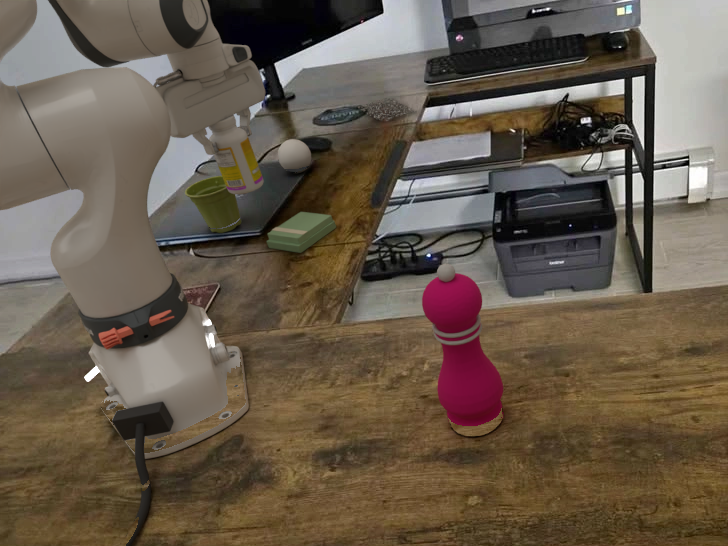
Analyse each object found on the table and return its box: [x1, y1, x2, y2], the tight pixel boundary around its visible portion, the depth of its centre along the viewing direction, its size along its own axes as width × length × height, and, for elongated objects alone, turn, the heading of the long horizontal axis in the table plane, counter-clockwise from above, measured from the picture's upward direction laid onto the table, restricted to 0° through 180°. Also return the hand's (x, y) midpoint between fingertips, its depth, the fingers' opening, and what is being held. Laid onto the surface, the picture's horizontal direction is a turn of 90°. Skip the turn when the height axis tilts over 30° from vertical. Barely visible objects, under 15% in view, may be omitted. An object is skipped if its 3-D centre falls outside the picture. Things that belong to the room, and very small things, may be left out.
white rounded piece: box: [277, 138, 312, 174], centre depth 151 cm, size 10×7×7 cm
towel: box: [266, 211, 337, 254], centre depth 123 cm, size 10×8×3 cm
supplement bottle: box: [208, 114, 265, 196], centre depth 119 cm, size 7×7×13 cm
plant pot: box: [184, 175, 242, 234], centre depth 131 cm, size 9×9×9 cm
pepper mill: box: [421, 263, 504, 426], centre depth 70 cm, size 7×7×20 cm
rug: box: [357, 97, 415, 122], centre depth 181 cm, size 10×20×1 cm, turn 28°
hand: (230, 144), depth 118 cm, fingers closed on supplement bottle, 6 cm apart
